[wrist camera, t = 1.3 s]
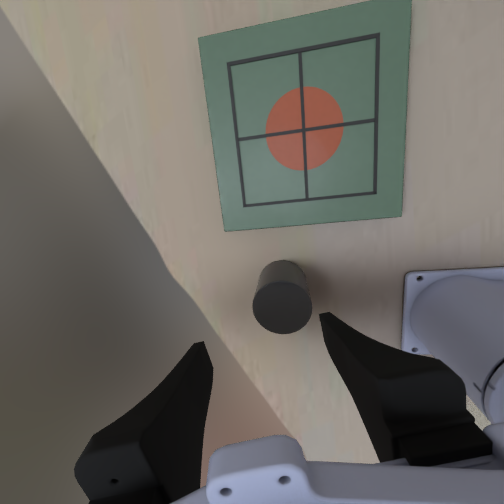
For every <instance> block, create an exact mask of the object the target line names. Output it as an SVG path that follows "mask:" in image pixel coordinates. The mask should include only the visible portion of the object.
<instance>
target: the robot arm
mask: <svg viewBox="0 0 504 504" xmlns="http://www.w3.org/2000/svg"><path fill="white" fill-rule="evenodd" d="M418 276H421V277H420V279H418V280H417V279H416V278H417V277H418ZM319 316H320V321H321V326H322V331H323V337H324V342H325V345H326V347H327V350H328V352H329V354H330V357H331V359H332V361H333V363H334V364H335V366H336V368H337V370H338V372H339V373H340V375H341V377H342V379H343V381H344V382H345V384H346V386H347V388H348V390H349V392H350V394H351V396H352V398H353V400H354V402H355V404H356V406H357V409H358V411H359V413H360V416H361V418H362V420H363V423H364V425H365V427H366V430H367V432H368V434H369V437H370V439H371V442H372V444H373V447H374V449H375V451H376V454H377V456H378V459H379V461H380V463H376V464H363V463H343V462H323V461H306V460H305V458H304V455H303V451H302V448H301V446H300V445H299V443H298V442H297V440H296V439H294V438H291V437H289V436H287V435H272V436H267V437H262V438H258V439H253V440H249V441H244V442H239V443H234V444H229V445H226V446H223V447H221V448H219V449H217V450H215V452H214V453H213V454H212V456H211V457H210V461H209V468H208V476H207V483H206V486H204V487H202V488H200V479H201V461H202V448H203V436H204V427H205V421H206V416H207V411H208V405H209V400H210V395H211V389H212V382H213V366H212V363H211V360H210V357H209V355H208V352H207V349H206V347H205V344H204V341H203V342H198V343H194V344H193V345H192V346H191V348H190V349H189V350H188V351H187V353H186V354H185V355H184V356H183V358H182V359H181V360H180V361H179V363H178V364H177V365H176V366H175V367H174V369H173V370H172V371H171V372H170V373H169V374H168V375H167V377H166V378H165V379H164V380H163V381H162V382H161V383H160V384H159V385H158V386H157V387H156V388H155V389H154V390H153V391H152V392H151V393H150V394H149V395H148V396H146V398H144V399H143V400H142V401H141V402H139V403H138V404H137V405H136V406H135V407H134V408H132V409H131V410H130V411H128V412H127V413H126V414H125V415H123V416H122V417H120V418H119V419H117V420H116V421H115V422H113V423H111V424H110V425H108V426H107V427H105V428H104V429H102V430H100V431H99V432H97V433H96V434H94V435H93V436H92V438H91V439H90V441H89V443H88V444H87V446H86V447H85V449H84V451H83V452H82V454H81V456H80V457H79V459H78V461H77V462H76V465H75V468H74V472H75V477H76V479H77V481H78V483H79V485H80V486H81V488H82V489H83V491H84V492H85V494H86V495H87V497H88V498H89V500H90V502H89V504H504V267H493V268H474V269H455V270H436V271H417V272H409V273H407V274H406V276H405V288H404V306H403V325H402V344H401V349H402V350H399V349H396V348H393V347H390V346H388V345H385V344H383V343H380V342H378V341H376V340H374V339H371V338H369V337H367V336H365V335H364V334H362V333H360V332H358V331H357V330H355V329H353V328H352V327H350V326H349V325H347V324H346V323H344V322H343V321H341V320H340V319H338V318H337V317H336V316H334V315H333V314H332V313H330V312H326V313H322V314H319ZM413 348H415V349H414V350H412V349H413ZM417 354H432V355H433V356H434V357H435V358H431V357H426V356H421V355H417ZM466 394H467V395H468V397H469V398H470V399H471V400H472V401H473V402H474V404H475V405H476V406H477V407H478V408H479V409H480V410H481V412H482V413H483V414H484V415H485V416H486V417H487V419H488V420H489V421H490V422H491V425H489V426H486V427H485V428H484V429H483V431H482V430H481V429H480V428H479V427H478V426H477V425H476V424H475V423H474V422H475V419H474V417H473V416H472V414H471V413H470V412H469V411H468V410H467V409H466Z"/></svg>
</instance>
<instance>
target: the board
mask: <svg viewBox="0 0 504 504" xmlns="http://www.w3.org/2000/svg"><path fill="white" fill-rule="evenodd" d="M411 7H412V0H371V1H366V2H361V3H357V4H352V5H348V6H343V7H338V8H334V9H329V10H324V11H320V12H315V13H310V14H306V15H301V16H296V17H292V18H287V19H283V20H278V21H273V22H269V23H264V24H259V25H255V26H250V27H245V28H241V29H236V30H232V31H227V32H222V33H218V34H213V35H208V36H204V37H199V38H198V43H199V50H200V57H201V65H202V72H203V79H204V86H205V94H206V101H207V108H208V115H209V122H210V130H211V137H212V144H213V151H214V159H215V166H216V173H217V180H218V188H219V195H220V202H221V209H222V217H223V224H224V231H225V232H227V231H239V230H251V229H262V228H274V227H286V226H298V225H309V224H321V223H333V222H345V221H356V220H368V219H380V218H391V217H401V216H402V199H403V178H404V156H405V135H406V114H407V92H408V71H409V49H410V28H411Z"/></svg>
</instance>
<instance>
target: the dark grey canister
mask: <svg viewBox="0 0 504 504" xmlns="http://www.w3.org/2000/svg"><path fill="white" fill-rule="evenodd" d="M253 313H254V316H255V318H256V319H257V321H258V322H259V323H260V325H261V326H263V327H264V328H265V329H267V330H269V331H271V332H274V333H278V334H289V333H293V332H296V331H298V330H300V329H301V328H303V327H304V326H305V325H306V324H307V322H308V321H309V319H310V317H311V313H312V303H311V298H310V294H309V289H308V285H307V280H306V276H305V274H304V272H303V270H302V269H301V268H300V267H299V266H298V265H296V264H294V263H292V262H290V261H284V260H281V261H275V262H272V263H270V264H269V265H267V266H266V267H265V268H264V269H263V271H262V273H261V275H260V278H259V282H258V285H257V289H256V293H255V296H254V300H253Z"/></svg>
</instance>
